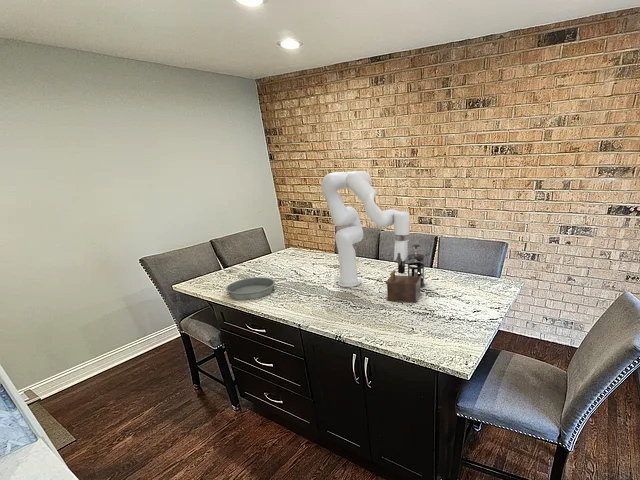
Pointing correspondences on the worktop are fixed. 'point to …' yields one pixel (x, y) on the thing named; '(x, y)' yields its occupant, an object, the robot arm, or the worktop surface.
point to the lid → (402, 279)
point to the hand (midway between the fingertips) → (401, 272)
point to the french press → (419, 267)
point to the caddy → (404, 292)
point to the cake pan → (250, 288)
